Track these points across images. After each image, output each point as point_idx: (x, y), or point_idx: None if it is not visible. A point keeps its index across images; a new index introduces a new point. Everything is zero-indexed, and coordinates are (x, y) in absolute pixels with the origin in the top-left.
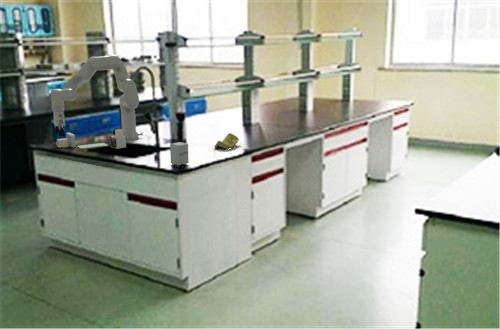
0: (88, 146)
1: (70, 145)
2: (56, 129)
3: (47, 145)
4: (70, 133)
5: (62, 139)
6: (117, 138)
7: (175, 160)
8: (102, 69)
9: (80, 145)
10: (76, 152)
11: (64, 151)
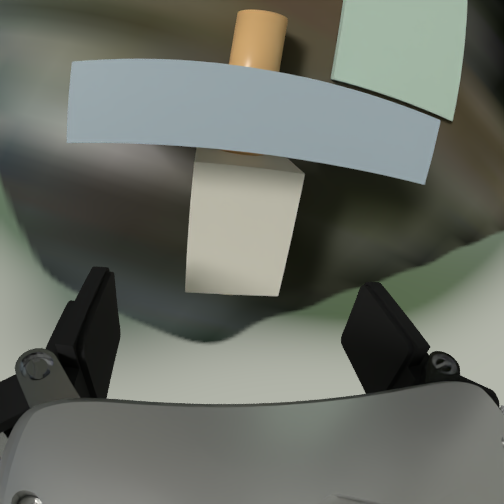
0: (435, 27)
1: None
2: (103, 376)
3: None
4: (215, 87)
5: (256, 242)
6: None
7: None
8: None
9: (344, 40)
10: (495, 209)
11: (421, 261)
